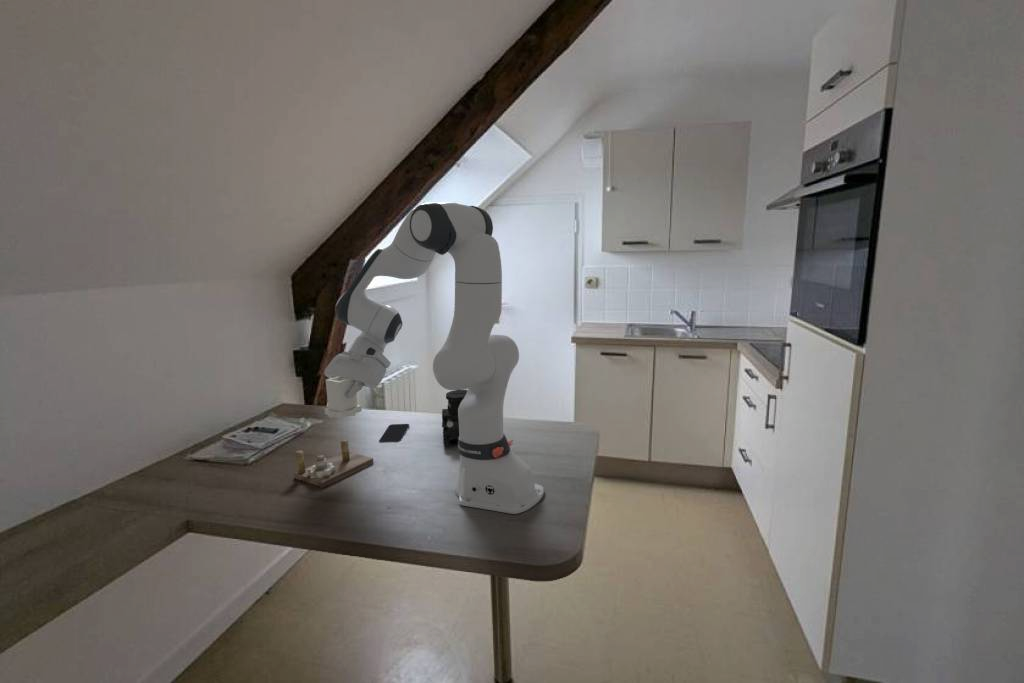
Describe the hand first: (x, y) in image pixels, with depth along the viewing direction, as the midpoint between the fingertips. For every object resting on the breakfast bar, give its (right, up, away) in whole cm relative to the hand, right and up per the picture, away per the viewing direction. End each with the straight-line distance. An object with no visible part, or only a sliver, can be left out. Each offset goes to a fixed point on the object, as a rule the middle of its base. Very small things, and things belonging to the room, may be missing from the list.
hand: (339, 395), depth 140 cm
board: (-2, -21, +1) cm, 22 cm away
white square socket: (0, -5, +2) cm, 5 cm away
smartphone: (+9, -17, +29) cm, 34 cm away
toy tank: (+32, -17, +23) cm, 43 cm away
